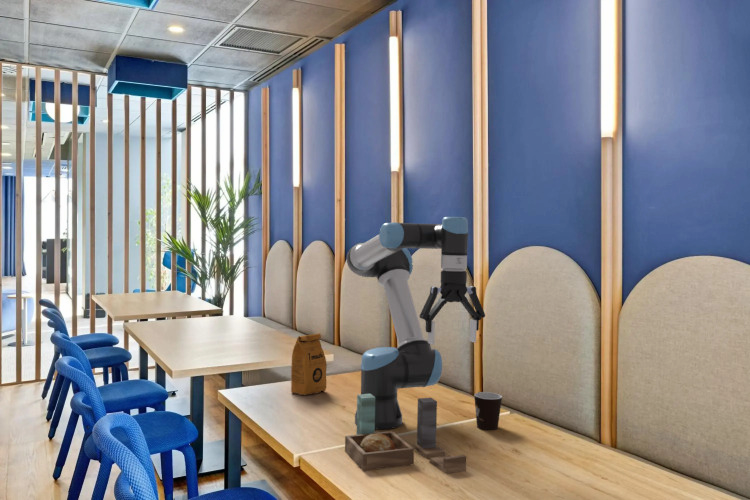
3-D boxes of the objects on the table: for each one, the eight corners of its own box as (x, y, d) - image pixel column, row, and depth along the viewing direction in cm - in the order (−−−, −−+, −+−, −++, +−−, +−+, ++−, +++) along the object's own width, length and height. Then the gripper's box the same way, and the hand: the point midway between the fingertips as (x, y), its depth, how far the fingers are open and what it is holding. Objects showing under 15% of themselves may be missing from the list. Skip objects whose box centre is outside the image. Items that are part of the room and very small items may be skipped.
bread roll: (357, 466, 167) (347, 441, 165) (386, 445, 172) (376, 421, 170) (376, 478, 158) (365, 452, 157) (406, 455, 163) (396, 430, 161)
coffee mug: (501, 432, 188) (502, 400, 187) (472, 430, 189) (473, 398, 189) (501, 421, 199) (502, 390, 199) (474, 419, 201) (475, 389, 200)
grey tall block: (413, 448, 172) (414, 398, 172) (432, 446, 174) (433, 397, 174) (425, 458, 165) (426, 406, 164) (445, 455, 167) (446, 404, 166)
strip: (429, 462, 161) (430, 449, 161) (449, 459, 164) (449, 446, 164) (445, 473, 154) (446, 459, 154) (465, 470, 157) (466, 456, 157)
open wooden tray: (339, 445, 174) (340, 395, 173) (385, 440, 178) (386, 392, 178) (363, 471, 155) (364, 415, 154) (413, 464, 160) (414, 411, 159)
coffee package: (330, 392, 231) (331, 334, 230) (303, 398, 222) (304, 337, 222) (313, 387, 238) (314, 331, 238) (287, 392, 230) (288, 334, 229)
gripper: (420, 270, 170) (418, 346, 171) (497, 270, 179) (496, 343, 180) (409, 269, 177) (407, 342, 178) (484, 269, 186) (482, 338, 187)
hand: (452, 342), depth 179 cm, fingers open, 13 cm apart
